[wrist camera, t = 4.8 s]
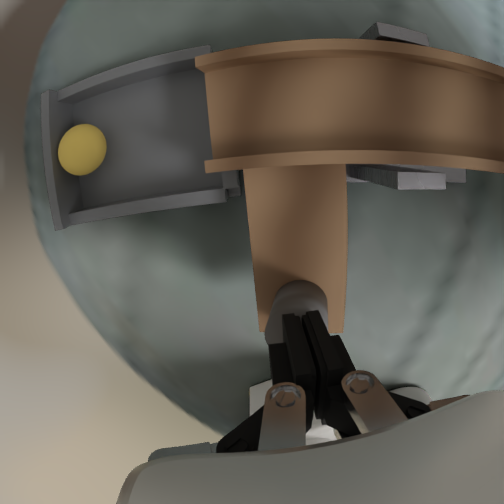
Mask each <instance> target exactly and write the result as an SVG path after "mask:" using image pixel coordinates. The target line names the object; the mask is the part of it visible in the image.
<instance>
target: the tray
mask: <svg viewBox="0 0 504 504" xmlns="http://www.w3.org/2000/svg"><path fill="white" fill-rule="evenodd" d="M209 53H213V51H212V49H211V46H210V45H204V46H198V47H193V48H187V49H182V50H178V51H173V52H168V53H164V54H160V55H156V56H152V57H148V58H145V59H141V60H138V61H134V62H131V63H128V64H125V65H121V66H118V67H115V68H113V69H110V70H107V71H104V72H101V73H99V74H96V75H94V76H91V77H89V78H86V79H84V80H81V81H79V82H77V83H74V84H72V85H70V86H68V87H65V88H63V89H61V90H59V91H54V90H47V91H45V92H43V93H41V132H42V148H43V159H44V169H45V177H46V184H47V191H48V197H49V203H50V208H51V213H52V218H53V223H54V228H55V231H56V230H61V229H64V228H67V227H69V226H71V225H75V224H81V223H86V222H91V221H97V220H103V219H108V218H114V217H120V216H126V215H133V214H139V213H146V212H152V211H159V210H166V209H174V208H181V207H189V206H197V205H205V204H213V203H222V202H226V201H227V199H228V197H234V196H241V190H240V181H239V171H238V170H230V171H221V172H212V173H206V172H205V163H204V161H207V160H213V154H212V145H211V136H210V126H209V116H208V105H207V95H206V83H205V73H204V72H202V71H201V70H199V69H197V68H196V67H195V57H197V56H201V55H205V54H209ZM80 124H90V125H93V126H95V127H97V128H98V129H100V130H101V132H102V133H103V135H104V136H105V139H106V144H107V149H106V154H105V157H104V160H103V161H102V163H101V164H100V166H99V167H98V168H97V169H96V170H94V171H93V172H91V173H89V174H86V175H81V176H80V175H73V174H70V173H69V172H67V171H66V170H65V169H64V168H63V167H62V165H61V164H60V161H59V158H58V148H59V144H60V141H61V139H62V137H63V136H64V135H65V133H66V132H67V131H68V130H70V129H71V128H72V127H74V126H77V125H80Z"/></svg>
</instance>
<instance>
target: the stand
mask: <svg viewBox="0 0 504 504" xmlns="http://www.w3.org/2000/svg"><path fill="white" fill-rule="evenodd" d="M359 39H368V40H382V41H392V42H400V43H408V44H415V45H421V46H426V47H430V45H429V41H428V38H427V34H424V33H421V32H417V31H414V30H410V29H406V28H403V27H398V26H394V25H390V24H385V23H380V22H376V23H375V24H374V25H372V26H371V27H370V28H369V29H368V30H367V31H366V32H365V33H364V34H363V35H362V36H361V37H360V38H359ZM346 181H347V183H348V182H372V183H375V184H379V185H383V186H387V187H390V188H394V189H398V190H406V189H445V190H446V182H457V183H466V169H462V168H451V167H439V166H423V165H402V164H346Z"/></svg>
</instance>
